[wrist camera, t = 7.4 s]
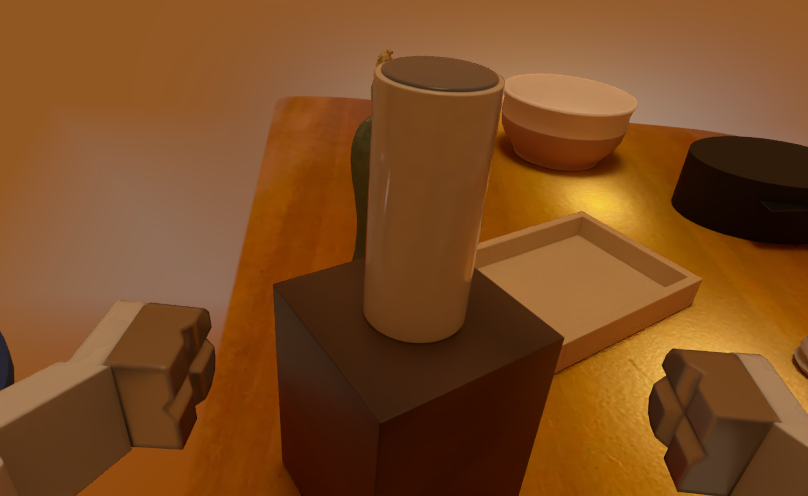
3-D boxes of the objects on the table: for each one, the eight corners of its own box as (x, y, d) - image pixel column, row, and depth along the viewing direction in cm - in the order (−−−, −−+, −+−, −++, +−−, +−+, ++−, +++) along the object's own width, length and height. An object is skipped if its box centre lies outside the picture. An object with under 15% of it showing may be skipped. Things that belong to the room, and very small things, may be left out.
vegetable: (366, 305, 44) (381, 31, 33) (416, 325, 42) (448, 45, 32) (333, 337, 41) (338, 44, 30) (386, 361, 39) (411, 60, 28)
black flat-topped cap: (646, 189, 69) (663, 130, 65) (792, 186, 70) (817, 128, 66) (707, 259, 57) (732, 192, 53) (881, 255, 58) (919, 189, 54)
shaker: (399, 358, 22) (425, 97, 17) (343, 296, 25) (349, 59, 20) (486, 322, 24) (534, 82, 19) (425, 270, 27) (451, 50, 22)
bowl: (515, 180, 66) (529, 112, 61) (478, 129, 79) (487, 70, 75) (644, 180, 68) (665, 115, 64) (586, 131, 82) (601, 74, 78)
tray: (550, 376, 39) (559, 346, 38) (439, 280, 48) (443, 253, 46) (691, 304, 47) (703, 278, 46) (575, 234, 56) (582, 210, 55)
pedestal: (365, 608, 26) (380, 423, 19) (281, 461, 32) (272, 283, 25) (513, 512, 30) (565, 337, 24) (415, 399, 36) (436, 236, 30)
